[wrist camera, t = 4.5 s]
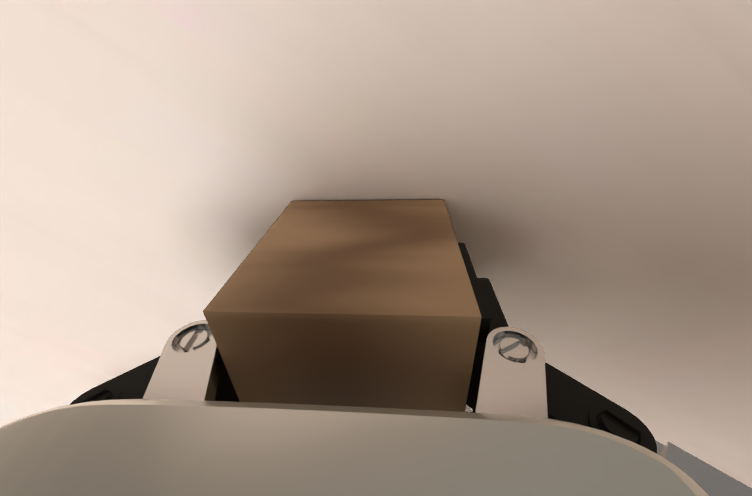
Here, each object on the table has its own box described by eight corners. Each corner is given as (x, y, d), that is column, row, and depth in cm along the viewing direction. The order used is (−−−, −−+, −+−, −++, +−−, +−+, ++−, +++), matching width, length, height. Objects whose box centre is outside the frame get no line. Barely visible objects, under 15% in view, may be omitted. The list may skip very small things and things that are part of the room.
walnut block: (443, 199, 11) (481, 317, 6) (434, 317, 14) (454, 467, 9) (291, 200, 12) (202, 311, 6) (312, 314, 14) (262, 456, 9)
